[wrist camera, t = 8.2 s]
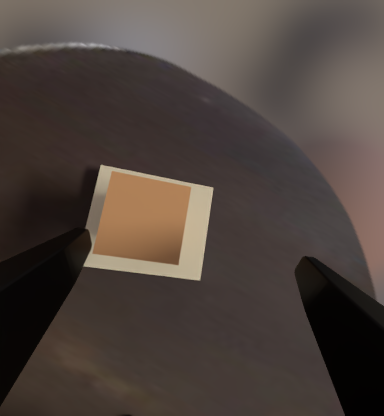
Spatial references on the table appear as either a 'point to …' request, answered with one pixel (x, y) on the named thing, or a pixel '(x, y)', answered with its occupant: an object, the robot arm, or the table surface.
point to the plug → (142, 219)
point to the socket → (191, 239)
